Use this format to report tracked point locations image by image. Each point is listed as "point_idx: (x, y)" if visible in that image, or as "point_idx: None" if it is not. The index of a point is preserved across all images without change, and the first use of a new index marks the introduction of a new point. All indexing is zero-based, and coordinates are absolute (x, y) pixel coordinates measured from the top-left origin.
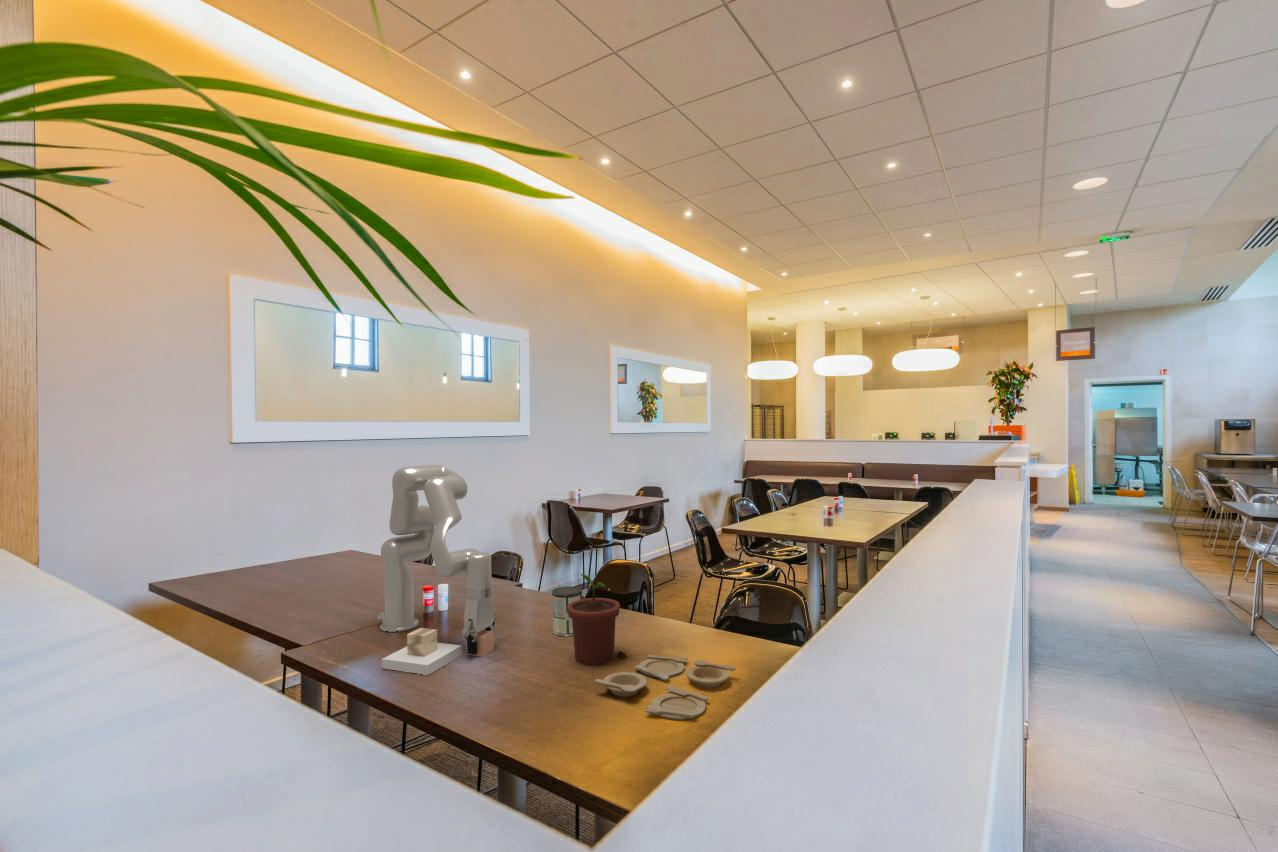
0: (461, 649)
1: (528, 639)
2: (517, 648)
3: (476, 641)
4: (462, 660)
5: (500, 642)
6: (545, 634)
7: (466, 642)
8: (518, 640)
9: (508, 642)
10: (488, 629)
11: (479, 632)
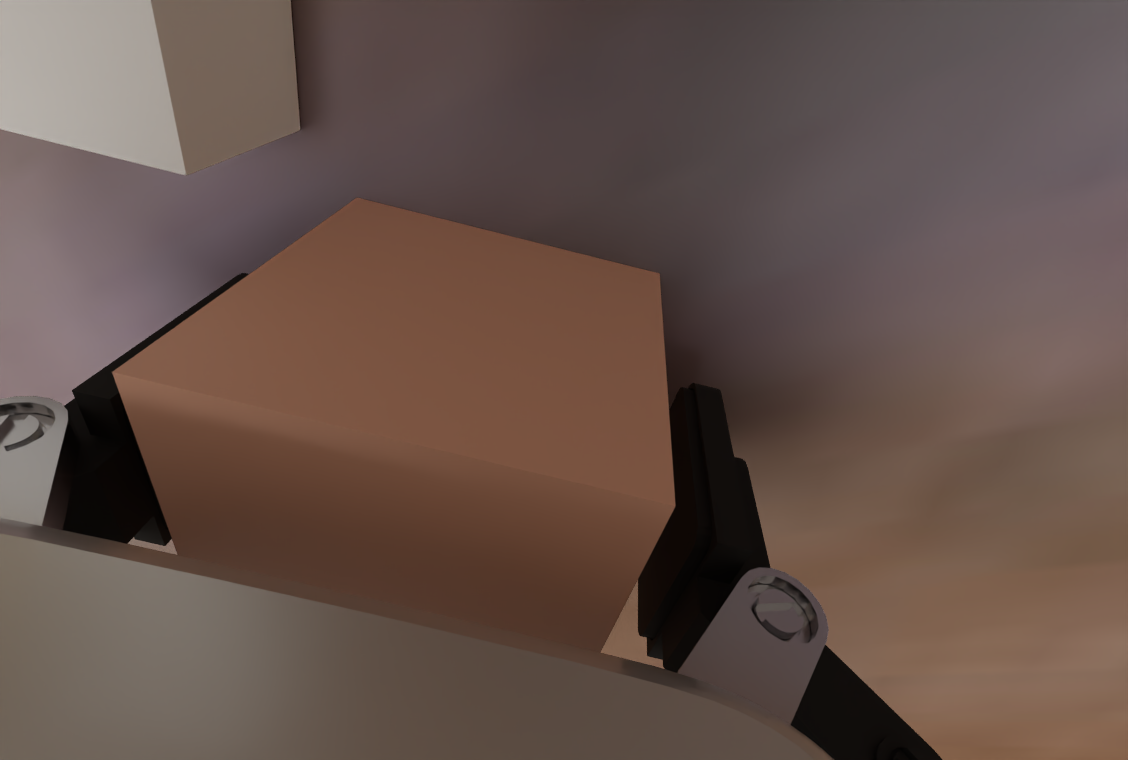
0: (236, 151)
1: (875, 678)
2: (629, 633)
3: (155, 539)
4: (149, 224)
5: (846, 496)
6: (981, 752)
7: (236, 289)
8: (869, 624)
9: (824, 562)
10: (684, 660)
11: (430, 582)
